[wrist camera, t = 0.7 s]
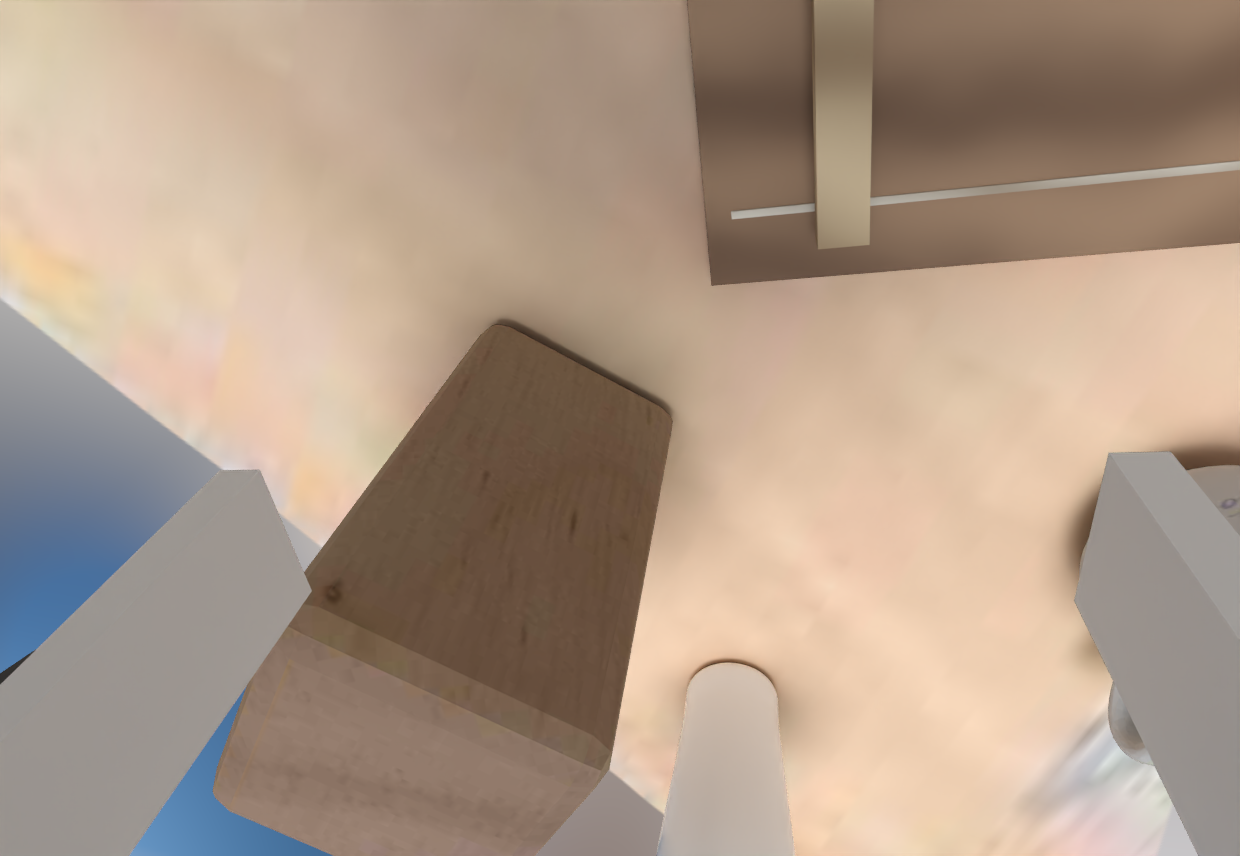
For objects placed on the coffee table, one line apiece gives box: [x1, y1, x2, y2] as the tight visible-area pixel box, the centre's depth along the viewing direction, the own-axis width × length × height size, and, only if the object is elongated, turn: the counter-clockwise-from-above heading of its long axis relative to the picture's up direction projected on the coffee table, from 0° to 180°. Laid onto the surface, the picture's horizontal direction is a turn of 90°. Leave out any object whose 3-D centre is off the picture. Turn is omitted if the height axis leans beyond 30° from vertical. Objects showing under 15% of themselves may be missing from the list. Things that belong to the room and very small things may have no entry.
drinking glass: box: [656, 663, 796, 856], centre depth 40 cm, size 7×7×15 cm
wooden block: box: [213, 324, 673, 856], centre depth 31 cm, size 10×10×20 cm
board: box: [687, 0, 1240, 286], centre depth 27 cm, size 12×22×2 cm, turn 98°
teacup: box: [1079, 465, 1240, 766], centre depth 34 cm, size 14×11×8 cm
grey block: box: [811, 0, 874, 249], centre depth 23 cm, size 16×5×12 cm, turn 8°
